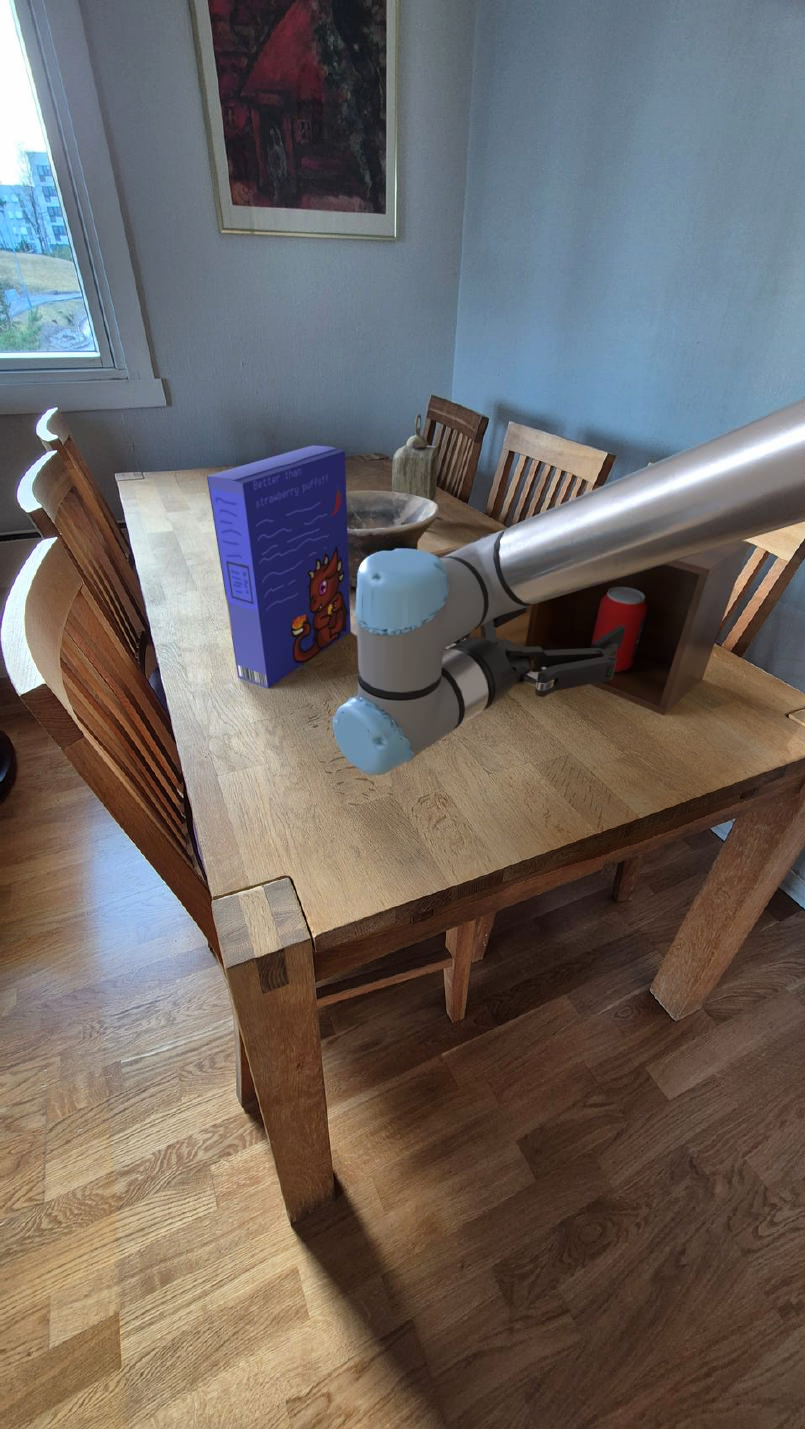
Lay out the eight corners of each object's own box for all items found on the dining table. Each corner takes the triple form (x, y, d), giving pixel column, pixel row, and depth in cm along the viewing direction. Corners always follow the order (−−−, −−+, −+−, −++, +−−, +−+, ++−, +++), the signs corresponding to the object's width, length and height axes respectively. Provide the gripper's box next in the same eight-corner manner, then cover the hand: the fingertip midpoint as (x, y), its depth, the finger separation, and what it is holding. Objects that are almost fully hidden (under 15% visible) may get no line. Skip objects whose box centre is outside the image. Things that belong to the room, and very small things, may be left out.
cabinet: (663, 715, 90) (709, 569, 77) (524, 656, 103) (543, 523, 90) (702, 679, 98) (749, 542, 85) (568, 629, 111) (592, 504, 99)
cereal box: (323, 623, 111) (312, 443, 94) (350, 631, 109) (344, 448, 92) (238, 677, 96) (206, 474, 79) (268, 688, 94) (242, 481, 76)
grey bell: (427, 532, 153) (431, 421, 138) (390, 529, 154) (391, 419, 140) (435, 514, 164) (440, 410, 150) (401, 512, 166) (403, 408, 151)
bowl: (328, 550, 141) (325, 482, 132) (445, 561, 137) (449, 491, 128) (287, 599, 119) (280, 521, 111) (424, 613, 115) (427, 533, 107)
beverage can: (640, 668, 98) (660, 598, 91) (609, 679, 96) (626, 607, 89) (609, 650, 103) (626, 581, 96) (578, 659, 100) (593, 589, 93)
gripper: (379, 669, 74) (487, 614, 87) (560, 762, 60) (658, 680, 73) (378, 611, 70) (492, 563, 83) (574, 697, 56) (674, 622, 69)
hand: (570, 618), depth 78 cm, fingers open, 13 cm apart
